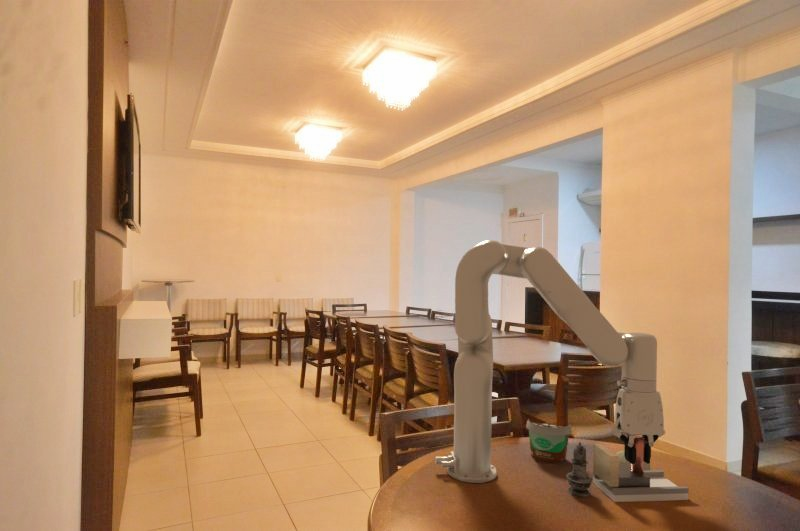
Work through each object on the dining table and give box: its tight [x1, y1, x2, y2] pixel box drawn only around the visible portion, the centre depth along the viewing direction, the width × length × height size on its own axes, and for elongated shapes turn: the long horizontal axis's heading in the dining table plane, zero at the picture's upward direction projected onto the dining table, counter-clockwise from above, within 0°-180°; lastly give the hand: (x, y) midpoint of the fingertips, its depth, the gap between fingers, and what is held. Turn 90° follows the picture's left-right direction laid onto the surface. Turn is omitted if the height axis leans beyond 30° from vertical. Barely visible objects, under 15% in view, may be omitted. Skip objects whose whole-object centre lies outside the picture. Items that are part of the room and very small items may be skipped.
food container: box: [525, 418, 573, 465], centre depth 134 cm, size 12×6×10 cm, turn 68°
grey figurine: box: [565, 441, 593, 499], centre depth 115 cm, size 6×6×12 cm
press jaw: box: [592, 435, 650, 488], centre depth 116 cm, size 10×8×11 cm
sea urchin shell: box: [614, 449, 651, 471], centre depth 129 cm, size 9×8×8 cm
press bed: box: [592, 469, 690, 503], centre depth 116 cm, size 18×10×3 cm, turn 96°
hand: (637, 460), depth 116 cm, fingers closed on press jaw, 3 cm apart
